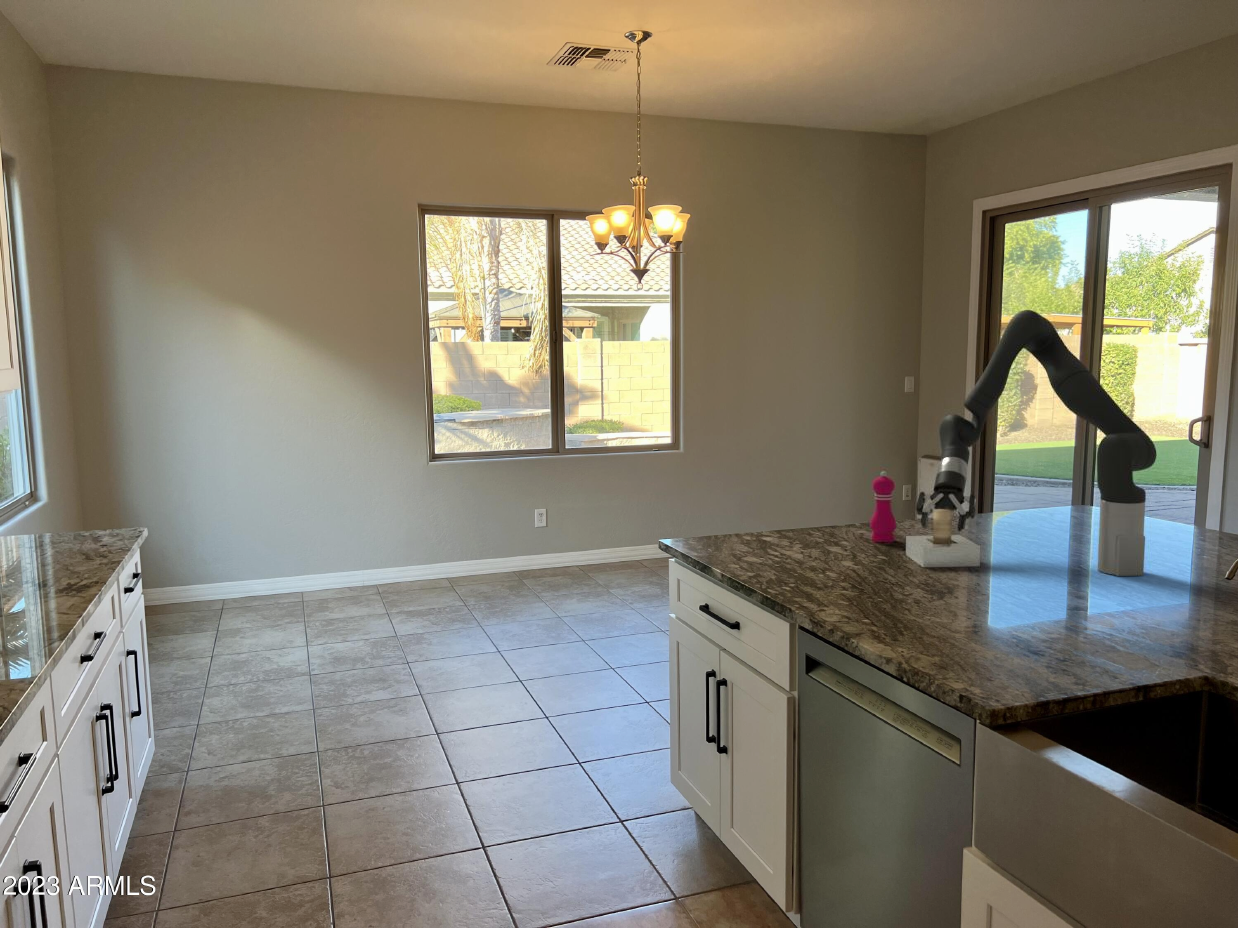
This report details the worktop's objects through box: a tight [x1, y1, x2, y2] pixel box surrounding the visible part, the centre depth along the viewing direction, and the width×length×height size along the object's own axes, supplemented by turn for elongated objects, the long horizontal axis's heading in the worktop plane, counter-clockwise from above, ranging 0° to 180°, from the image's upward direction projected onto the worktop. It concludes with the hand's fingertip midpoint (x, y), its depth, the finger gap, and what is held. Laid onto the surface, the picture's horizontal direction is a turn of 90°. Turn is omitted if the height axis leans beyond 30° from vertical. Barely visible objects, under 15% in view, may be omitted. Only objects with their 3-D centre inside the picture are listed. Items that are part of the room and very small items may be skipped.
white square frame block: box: [905, 534, 981, 568], centre depth 221 cm, size 14×14×5 cm
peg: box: [932, 509, 953, 544], centre depth 220 cm, size 4×4×13 cm
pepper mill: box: [869, 471, 897, 543], centre depth 245 cm, size 7×7×20 cm
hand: (941, 528), depth 220 cm, fingers open, 8 cm apart
